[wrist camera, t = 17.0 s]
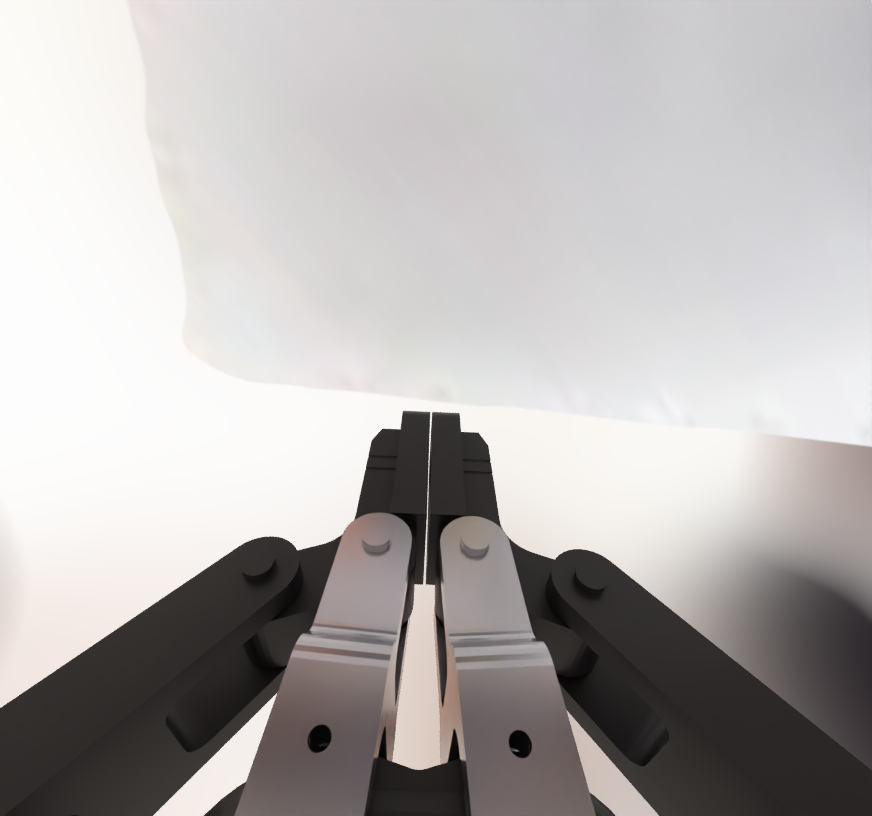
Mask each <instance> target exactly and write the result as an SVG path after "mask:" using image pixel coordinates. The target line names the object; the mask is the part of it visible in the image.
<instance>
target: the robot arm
mask: <svg viewBox="0 0 872 816" xmlns="http://www.w3.org/2000/svg"><path fill="white" fill-rule="evenodd" d="M429 428H430V412H416V411H403V415H402V424H401V430H397V429H382V430H381V431H380V432H379V433H378V434H377V436H376V437H375V438H374V439H373V440H372V443H371V447H370V451H369V458H368V461H367V466H366V470H365V475H364V480H363V484H362V489H361V495H360V499H359V503H358V508H357V513H356V516H355V520H354V521H353V522H351V523H350V524H349V525H348V527H347V528H346V530H345V531H344V533H343V534H342V535H341V536H340V537H338V538H336V539H335V540H333V541H331V542H328V543H326V544H322V545H319V546H315V547H310V548H306V549H302V550H299V551H297V550H296V548H295V547H294V545H293V544H292V543H290V542H289V541H287V540H285V539H283V538H279V537H262V538H257V539H254V540H251V541H249V542H246V543H244V544H243V545H241V546H239V547H238V548H236V549H235V550H233V551H232V552H230V553H229V554H228V555H226V556H224V557H223V558H221V559H220V560H219V561H217V562H216V563H214V564H213V565H211V566H210V567H208V568H207V569H205V570H204V571H202V572H201V573H199V574H198V575H196V576H195V577H193V578H192V579H190V580H189V581H187V582H186V583H185V584H183V585H182V586H180V587H179V588H177V589H176V590H174V591H173V592H171V593H170V594H168V595H167V596H165V597H164V598H162V599H161V600H159V601H158V602H157V603H155V604H154V605H152V606H151V607H149V608H148V609H146V610H145V611H143V612H142V613H140V614H139V615H137V616H136V617H134V618H133V619H131V620H130V621H128V622H127V623H125V624H124V625H123V626H121V627H120V628H118V629H117V630H115V631H114V632H112V633H111V634H109V635H108V636H106V637H105V638H103V639H102V640H101V641H99V642H97V643H96V644H94V645H93V646H92V647H90V648H89V649H87V650H86V651H84V652H83V653H81V654H80V655H78V656H77V657H75V658H74V659H72V660H71V661H69V662H68V663H66V664H65V665H63V666H62V667H61V668H59V669H58V670H56V671H55V672H53V673H52V674H50V675H49V676H47V677H46V678H44V679H43V680H42V681H40V682H38V683H37V684H35V685H34V686H33V687H31V688H30V689H28V690H27V691H25V692H24V693H22V694H21V695H19V696H18V697H16V698H15V699H13V700H12V701H10V702H9V703H7V704H6V705H4V706H3V707H2V708H0V816H153V815H154V814H155V813H156V812H157V811H158V810H159V809H160V808H161V807H162V806H163V805H164V804H165V803H166V802H167V801H168V800H169V799H170V798H171V797H172V796H173V795H174V794H175V793H176V792H177V791H178V790H179V789H180V788H181V787H182V786H183V785H184V784H185V783H186V782H187V781H188V780H189V779H190V778H191V777H192V776H193V775H194V774H195V773H196V772H197V771H198V770H199V769H200V768H201V767H202V766H203V765H204V764H206V763H207V762H208V761H209V760H210V759H211V758H212V757H213V756H214V755H215V754H216V753H217V752H218V751H219V750H220V748H222V747H223V746H224V744H225V743H227V742H228V741H229V740H230V739H231V738H232V737H233V736H234V735H235V734H236V733H237V732H238V731H239V730H240V729H241V728H242V727H243V726H244V725H245V724H246V723H247V722H248V721H249V720H250V719H251V718H252V717H253V716H254V715H255V714H256V713H257V712H258V711H259V710H260V709H261V708H262V707H263V706H264V705H265V704H266V703H267V702H268V701H269V700H270V699H271V698H272V697H273V696H274V695H275V694H276V693H277V692H278V693H277V696H276V699H275V702H274V705H273V708H272V710H271V713H270V716H269V719H268V722H267V725H266V727H265V730H264V733H263V736H262V739H261V741H260V744H259V747H258V750H257V753H256V756H255V758H254V761H253V764H252V767H251V770H250V773H249V776H248V779H247V781H246V782H245V783H244V784H242V785H240V786H239V787H237V788H236V789H235V790H233V791H232V792H231V793H229V794H228V795H227V796H225V797H224V798H223V799H221V800H220V801H219V802H218V803H217V804H216V805H215V806H214V807H213V808H212V809H211V810H209V811H208V812H207V813H206V814H205V815H204V816H615V815H614V814H613V812H612V811H611V810H610V809H609V808H608V807H606V806H605V805H604V804H603V803H602V802H601V801H599V800H598V799H597V798H596V797H595V796H594V795H592V794H591V793H589V789H588V786H587V782H586V778H585V775H584V772H583V768H582V764H581V761H580V757H579V754H578V750H577V746H576V743H575V739H574V736H573V732H572V729H571V725H570V721H569V718H568V714H567V711H568V712H569V713H570V714H571V715H572V716H573V718H575V720H576V721H577V722H578V723H579V724H580V726H581V727H582V728H583V729H584V730H585V731H586V732H587V734H588V735H589V736H590V737H591V738H592V739H593V740H594V742H595V743H596V744H597V745H598V746H599V747H600V748H601V750H602V751H603V752H604V753H605V754H606V755H607V756H608V758H609V759H610V760H611V761H612V762H613V763H614V764H615V766H616V767H617V768H618V769H619V770H620V771H621V772H622V774H623V775H624V776H625V777H626V778H627V779H628V780H629V782H630V783H632V785H633V786H634V787H635V788H636V790H637V791H638V792H639V793H640V794H641V795H642V796H643V798H644V799H645V800H646V801H647V802H648V803H649V804H650V806H651V807H652V808H653V809H654V810H655V811H656V812H657V814H658V815H659V816H872V770H871V769H869V768H868V767H867V766H866V765H864V764H863V763H862V762H861V761H859V760H858V759H857V758H856V757H854V756H853V755H852V754H850V753H849V752H848V751H847V750H846V749H844V748H843V747H842V746H840V745H839V744H838V743H837V742H836V741H834V740H833V739H831V737H829V736H828V735H827V734H825V733H824V732H823V731H822V730H820V729H819V728H818V727H817V726H816V725H814V724H813V723H812V722H811V721H809V720H808V719H807V718H805V717H804V716H803V715H802V714H801V713H799V712H798V711H797V710H796V709H794V708H793V707H792V706H790V705H789V704H788V703H787V702H786V701H784V700H783V699H782V698H780V697H779V696H778V695H777V694H776V693H774V692H773V691H772V690H771V689H769V688H768V687H767V686H766V685H764V684H763V683H762V682H761V681H759V680H758V679H757V678H755V677H754V676H753V675H752V674H751V673H749V672H748V671H747V670H745V669H744V668H743V667H742V666H741V665H739V664H738V663H737V662H735V661H734V660H733V659H732V658H730V657H729V656H728V655H727V654H725V653H724V652H723V651H722V650H720V649H719V648H718V647H717V646H715V645H714V644H713V643H712V642H711V641H709V640H708V639H707V638H705V637H704V636H703V635H702V634H701V633H699V632H698V631H697V630H696V629H694V628H693V627H692V626H691V625H689V624H688V623H687V622H686V621H684V620H683V619H682V618H680V617H679V616H678V615H677V614H675V613H674V612H673V611H672V610H671V609H669V608H668V607H667V606H666V605H664V604H663V603H662V602H661V601H659V600H658V599H657V598H656V597H654V596H653V595H652V594H650V593H649V592H648V591H647V590H645V589H644V588H643V587H642V586H641V585H639V584H638V583H637V582H635V581H634V580H633V579H632V578H630V577H629V576H628V575H627V574H625V573H624V572H623V571H622V570H621V569H619V568H618V567H617V566H616V565H614V564H613V563H612V562H610V561H609V560H608V559H606V558H605V557H603V556H601V555H599V554H597V553H594V552H591V551H588V550H581V549H574V550H569V551H566V552H563V553H562V554H560V555H559V556H558V557H557V558H556V559H555V560H553V559H550V558H547V557H544V556H541V555H538V554H535V553H532V552H529V551H527V550H525V549H523V548H521V547H519V546H518V545H516V544H515V543H514V542H513V541H511V540H510V539H509V538H508V536H507V535H506V534H505V532H504V531H503V529H502V528H501V525H500V521H499V515H498V508H497V501H496V495H495V488H494V481H493V476H492V468H491V463H490V455H489V449H488V445H487V444H486V442H485V441H484V440H483V438H482V437H481V436H480V434H479V433H469V432H461V429H460V415H459V413H441V412H433V413H432V428H431V447H430V466H429V467H430V468H429V497H428V498H429V499H428V532H427V566H426V584H430V585H435V610H434V630H435V646H436V661H437V677H438V692H439V708H440V757H441V765H438V766H434V767H431V768H428V769H424V770H414V769H411V768H408V767H405V766H402V765H400V764H397V763H394V762H392V759H393V750H394V741H395V730H396V718H397V710H398V702H399V695H400V687H401V680H402V673H403V665H404V658H405V651H406V644H407V636H408V628H409V622H410V615H411V613H412V609H413V601H414V584H423V575H424V574H423V573H424V556H425V537H426V519H427V491H428V460H429ZM566 710H567V711H566Z"/></svg>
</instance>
